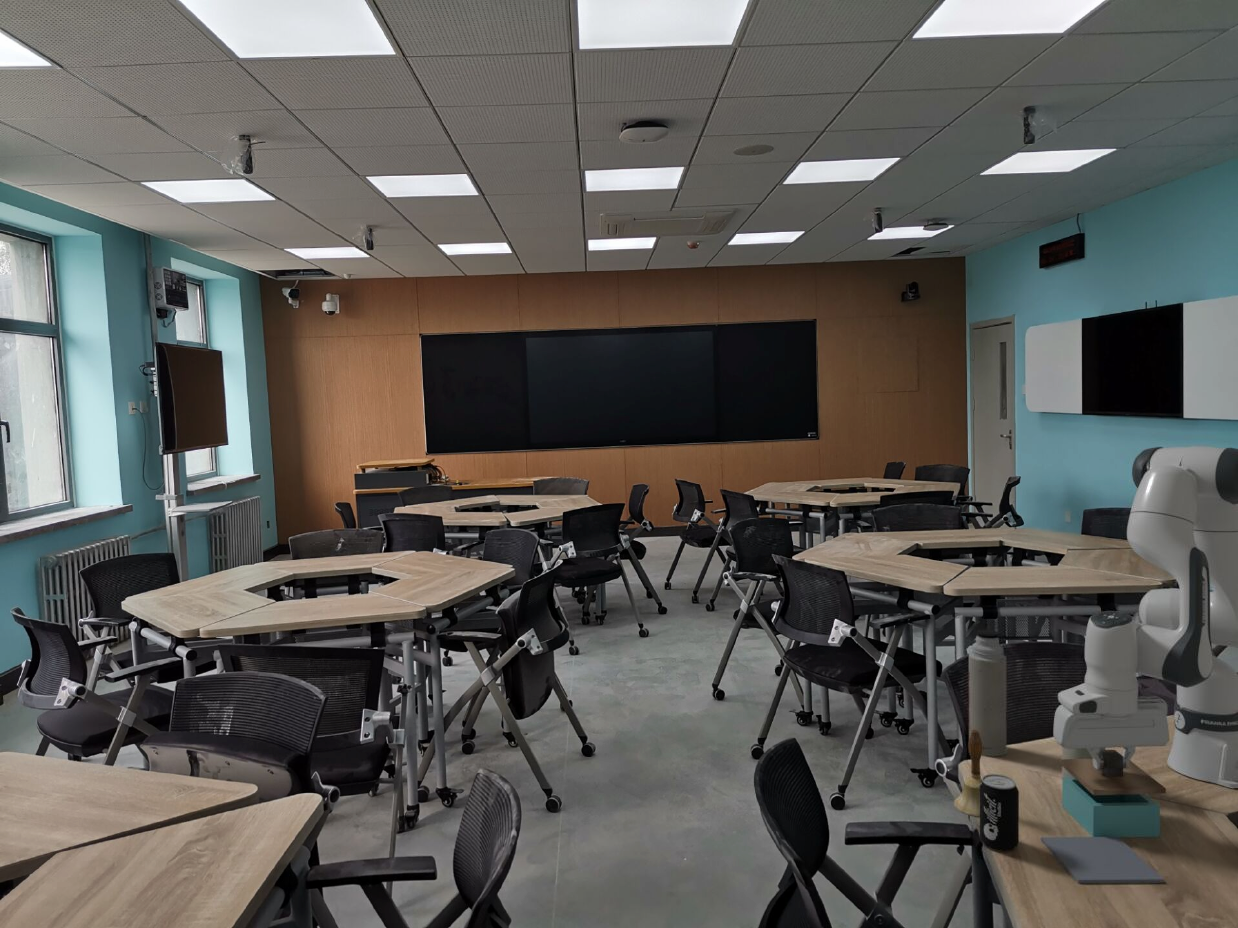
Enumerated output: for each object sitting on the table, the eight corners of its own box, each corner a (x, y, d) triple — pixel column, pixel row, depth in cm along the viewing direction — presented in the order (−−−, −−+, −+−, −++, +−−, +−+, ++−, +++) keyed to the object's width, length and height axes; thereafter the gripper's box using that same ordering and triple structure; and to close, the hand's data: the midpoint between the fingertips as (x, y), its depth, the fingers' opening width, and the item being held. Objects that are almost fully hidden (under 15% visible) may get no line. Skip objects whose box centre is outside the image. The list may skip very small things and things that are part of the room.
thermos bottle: (963, 750, 198) (962, 632, 196) (977, 739, 203) (977, 625, 201) (998, 759, 192) (998, 638, 190) (1011, 748, 197) (1011, 630, 195)
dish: (1123, 805, 169) (1124, 776, 168) (1159, 836, 157) (1159, 805, 156) (1062, 806, 169) (1062, 777, 169) (1093, 837, 157) (1093, 805, 157)
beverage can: (1022, 854, 152) (1023, 789, 152) (983, 851, 154) (983, 787, 153) (1013, 835, 159) (1013, 773, 158) (976, 833, 160) (976, 771, 159)
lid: (1126, 762, 169) (1126, 738, 169) (1165, 793, 156) (1166, 767, 156) (1060, 764, 170) (1060, 740, 169) (1093, 794, 157) (1093, 768, 156)
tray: (1118, 839, 156) (1118, 836, 156) (1163, 882, 142) (1163, 879, 142) (1040, 840, 157) (1040, 837, 157) (1078, 882, 143) (1078, 879, 143)
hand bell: (995, 821, 164) (995, 741, 163) (950, 811, 169) (949, 733, 168) (1001, 803, 171) (1001, 726, 170) (958, 794, 176) (957, 719, 175)
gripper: (1157, 690, 164) (1156, 758, 165) (1049, 693, 165) (1049, 761, 166) (1177, 702, 158) (1176, 773, 159) (1064, 705, 159) (1065, 776, 160)
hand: (1110, 767), depth 163 cm, fingers closed on lid, 3 cm apart
